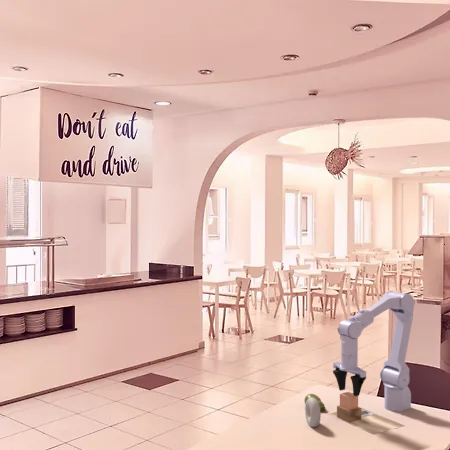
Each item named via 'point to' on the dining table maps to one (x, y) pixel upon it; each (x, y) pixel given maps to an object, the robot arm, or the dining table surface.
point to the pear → (317, 400)
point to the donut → (312, 412)
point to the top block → (348, 400)
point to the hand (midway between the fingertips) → (349, 392)
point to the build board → (372, 422)
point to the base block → (349, 414)
